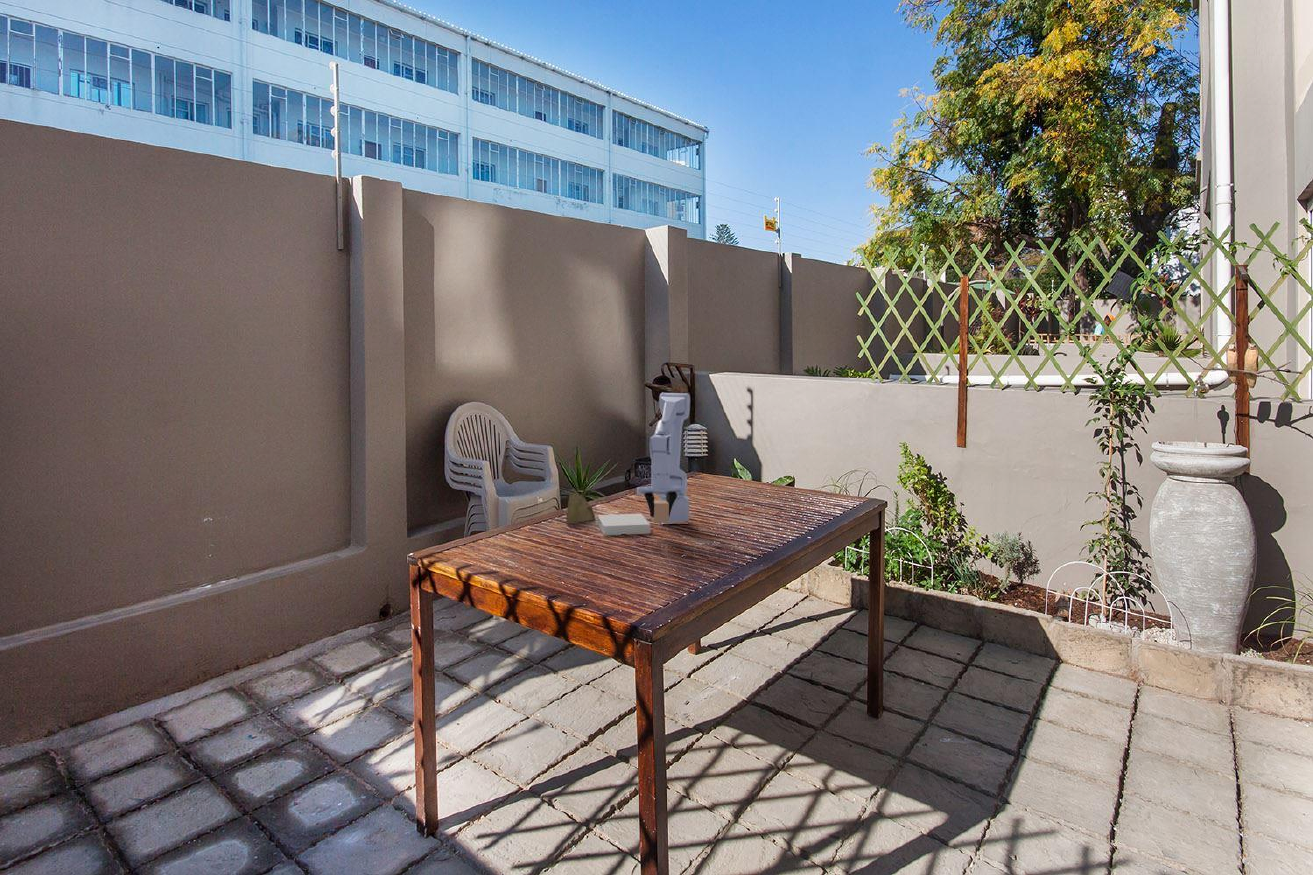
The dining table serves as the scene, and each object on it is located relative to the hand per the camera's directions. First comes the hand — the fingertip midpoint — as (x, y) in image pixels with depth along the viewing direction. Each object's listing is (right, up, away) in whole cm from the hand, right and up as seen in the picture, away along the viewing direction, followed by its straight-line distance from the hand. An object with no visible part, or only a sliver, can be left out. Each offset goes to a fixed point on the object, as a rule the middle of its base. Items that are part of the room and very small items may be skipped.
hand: (660, 516), depth 229 cm
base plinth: (-12, -5, +11) cm, 17 cm away
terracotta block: (0, -2, 0) cm, 2 cm away
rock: (-27, -4, +20) cm, 34 cm away
